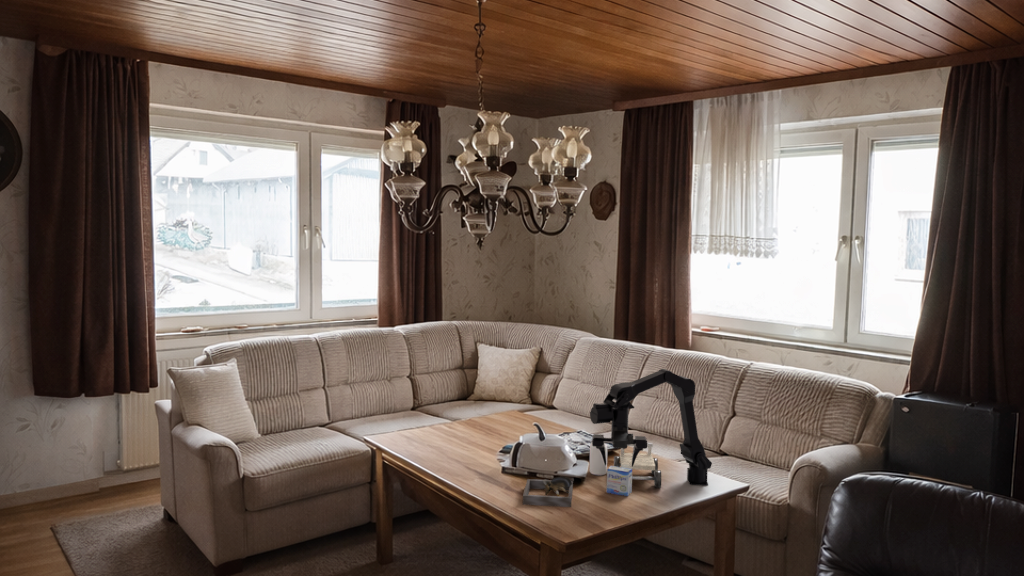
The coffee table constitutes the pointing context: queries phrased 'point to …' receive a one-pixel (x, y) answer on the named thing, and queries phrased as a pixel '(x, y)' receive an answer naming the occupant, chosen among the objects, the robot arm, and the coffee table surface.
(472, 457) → the coffee table surface
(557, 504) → the gray square tray
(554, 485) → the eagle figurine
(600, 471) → the can
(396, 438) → the coffee table surface
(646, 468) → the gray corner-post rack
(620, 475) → the medicine box
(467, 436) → the coffee table surface
